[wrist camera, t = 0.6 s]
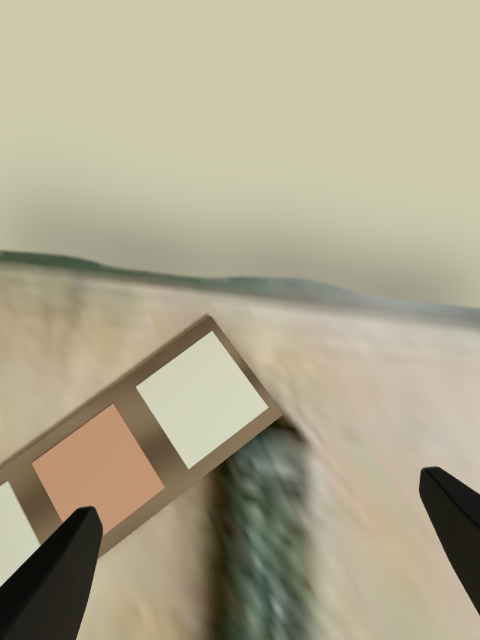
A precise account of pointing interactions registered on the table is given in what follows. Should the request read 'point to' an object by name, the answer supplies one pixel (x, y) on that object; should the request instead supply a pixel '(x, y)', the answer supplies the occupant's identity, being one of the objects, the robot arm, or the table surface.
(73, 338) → the table surface
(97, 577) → the table surface
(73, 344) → the table surface
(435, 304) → the table surface
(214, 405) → the game board
